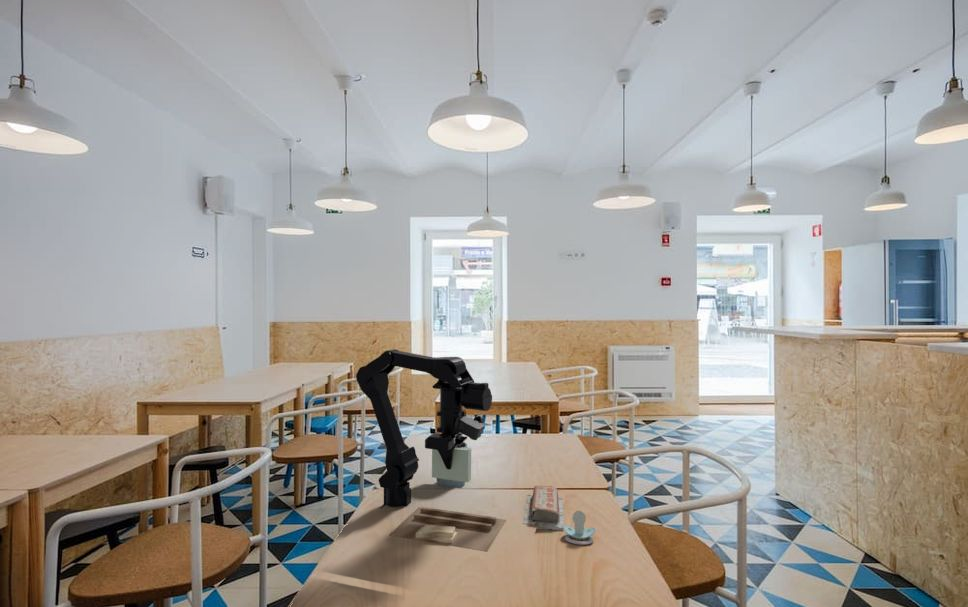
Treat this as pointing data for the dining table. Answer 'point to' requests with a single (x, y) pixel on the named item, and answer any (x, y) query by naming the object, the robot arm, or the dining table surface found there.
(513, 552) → the dining table surface
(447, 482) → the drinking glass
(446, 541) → the offcut lower
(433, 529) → the offcut upper
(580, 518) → the pacifier
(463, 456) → the green board
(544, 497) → the packaged product
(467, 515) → the rack
